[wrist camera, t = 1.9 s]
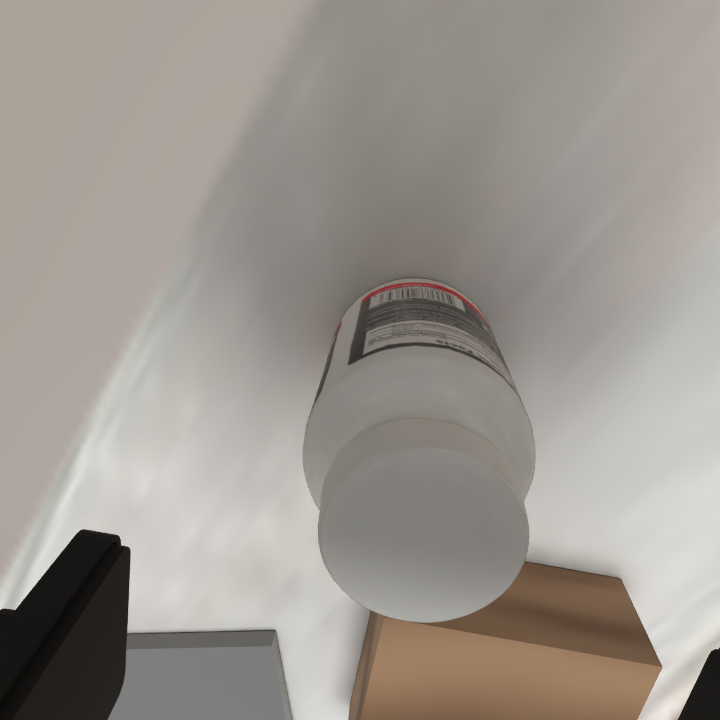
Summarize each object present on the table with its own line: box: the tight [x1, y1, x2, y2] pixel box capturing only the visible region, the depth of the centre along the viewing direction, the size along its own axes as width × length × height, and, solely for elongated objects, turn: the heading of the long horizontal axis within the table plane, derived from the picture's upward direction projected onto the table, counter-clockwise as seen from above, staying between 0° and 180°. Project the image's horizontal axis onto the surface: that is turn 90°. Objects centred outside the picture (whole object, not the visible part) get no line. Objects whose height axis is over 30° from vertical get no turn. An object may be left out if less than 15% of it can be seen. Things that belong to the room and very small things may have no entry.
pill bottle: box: [303, 278, 536, 623], centre depth 16 cm, size 5×5×10 cm
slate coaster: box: [108, 631, 292, 720], centre depth 27 cm, size 8×8×1 cm
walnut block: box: [349, 562, 662, 720], centre depth 23 cm, size 9×9×4 cm
